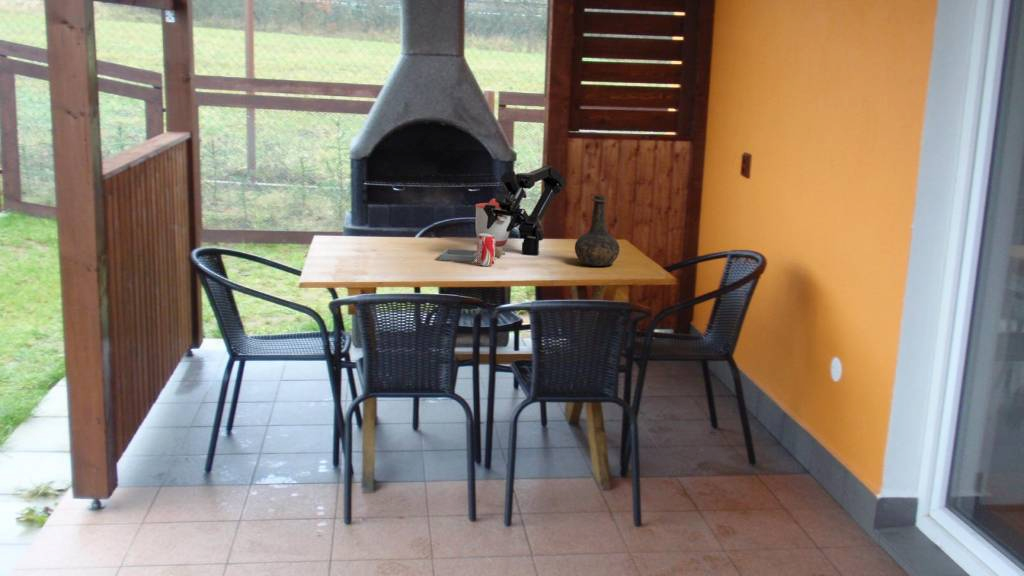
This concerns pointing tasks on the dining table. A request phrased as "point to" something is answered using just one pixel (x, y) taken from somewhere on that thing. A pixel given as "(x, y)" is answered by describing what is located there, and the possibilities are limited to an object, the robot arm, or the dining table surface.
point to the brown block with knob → (498, 252)
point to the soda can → (486, 249)
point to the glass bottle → (597, 239)
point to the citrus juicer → (498, 226)
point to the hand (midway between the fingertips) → (497, 229)
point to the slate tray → (458, 255)
